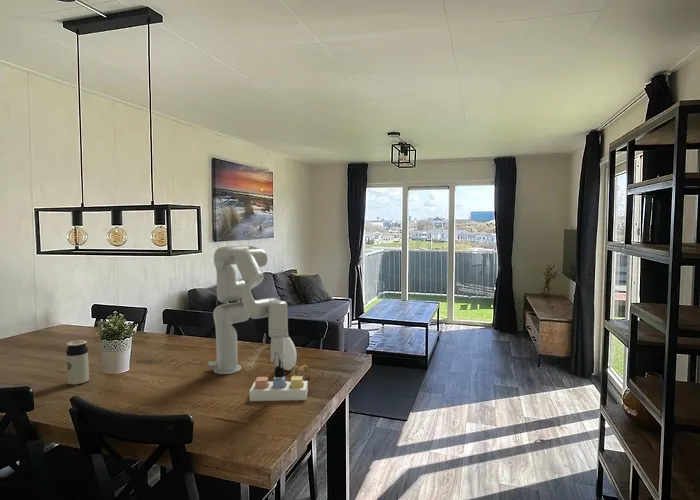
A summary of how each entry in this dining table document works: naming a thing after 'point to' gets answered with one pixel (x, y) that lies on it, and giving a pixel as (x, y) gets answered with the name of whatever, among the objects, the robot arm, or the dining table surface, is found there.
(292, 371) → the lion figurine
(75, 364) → the travel mug
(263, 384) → the terracotta button
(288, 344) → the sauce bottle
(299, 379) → the ochre button
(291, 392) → the button board
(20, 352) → the dining table surface
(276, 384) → the blue button
